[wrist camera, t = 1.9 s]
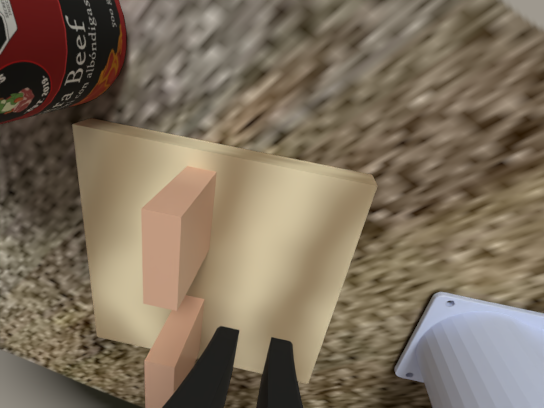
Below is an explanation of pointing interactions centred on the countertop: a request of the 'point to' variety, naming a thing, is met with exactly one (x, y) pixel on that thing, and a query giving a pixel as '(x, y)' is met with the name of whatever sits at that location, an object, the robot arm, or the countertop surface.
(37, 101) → the canned food
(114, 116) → the countertop surface
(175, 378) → the tile
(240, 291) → the board
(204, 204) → the tile
